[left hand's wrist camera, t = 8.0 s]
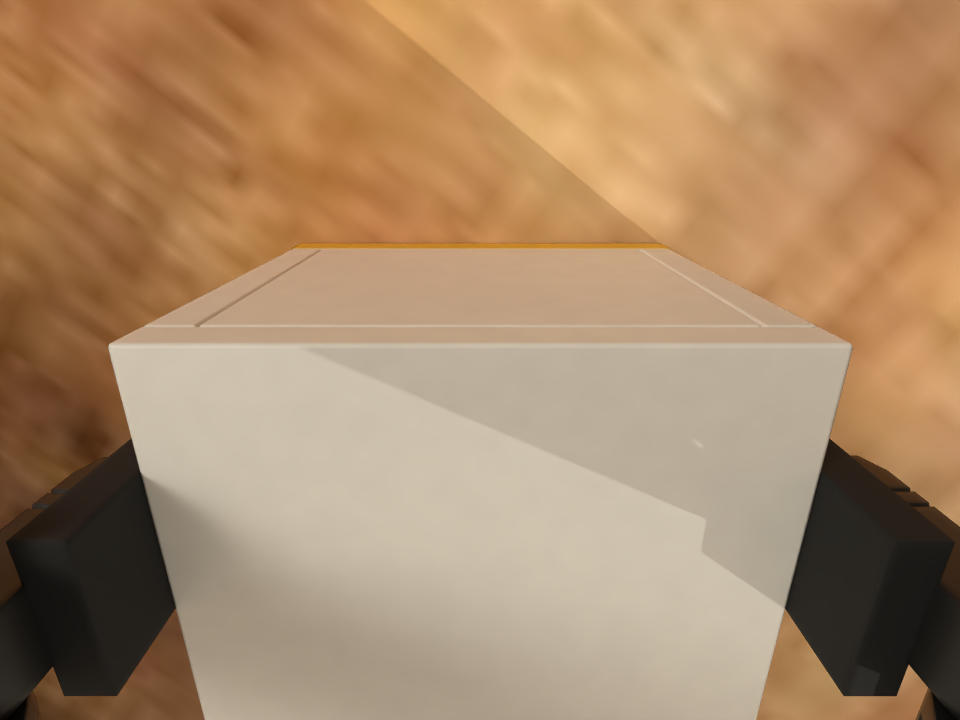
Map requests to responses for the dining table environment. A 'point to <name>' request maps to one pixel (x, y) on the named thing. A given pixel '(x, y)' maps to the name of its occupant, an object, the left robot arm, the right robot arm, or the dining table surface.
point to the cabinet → (480, 481)
